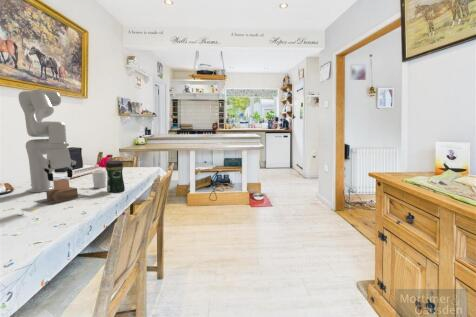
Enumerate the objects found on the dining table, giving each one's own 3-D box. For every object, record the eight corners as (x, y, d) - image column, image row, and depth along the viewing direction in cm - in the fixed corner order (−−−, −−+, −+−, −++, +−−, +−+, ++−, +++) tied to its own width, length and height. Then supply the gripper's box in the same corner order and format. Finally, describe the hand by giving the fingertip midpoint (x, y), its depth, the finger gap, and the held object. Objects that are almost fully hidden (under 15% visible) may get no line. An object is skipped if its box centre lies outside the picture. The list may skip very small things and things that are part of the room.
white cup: (101, 188, 175) (100, 172, 174) (90, 188, 177) (89, 172, 175) (109, 185, 183) (108, 170, 182) (98, 185, 184) (97, 170, 183)
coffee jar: (122, 188, 173) (120, 159, 171) (126, 191, 167) (124, 160, 165) (105, 191, 167) (103, 160, 165) (109, 193, 161) (107, 162, 159)
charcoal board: (33, 204, 140) (33, 201, 140) (72, 195, 157) (72, 192, 157) (51, 208, 133) (51, 205, 132) (90, 198, 150) (90, 195, 150)
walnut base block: (47, 199, 143) (46, 190, 142) (66, 195, 152) (65, 186, 151) (58, 202, 138) (57, 192, 138) (77, 197, 147) (77, 188, 146)
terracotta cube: (54, 189, 143) (53, 180, 143) (63, 187, 148) (63, 178, 147) (59, 190, 141) (58, 181, 140) (69, 188, 145) (68, 179, 145)
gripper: (70, 144, 151) (72, 175, 153) (35, 147, 136) (38, 181, 138) (79, 145, 148) (81, 176, 150) (44, 148, 132) (47, 183, 135)
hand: (60, 179), depth 144 cm, fingers open, 9 cm apart
